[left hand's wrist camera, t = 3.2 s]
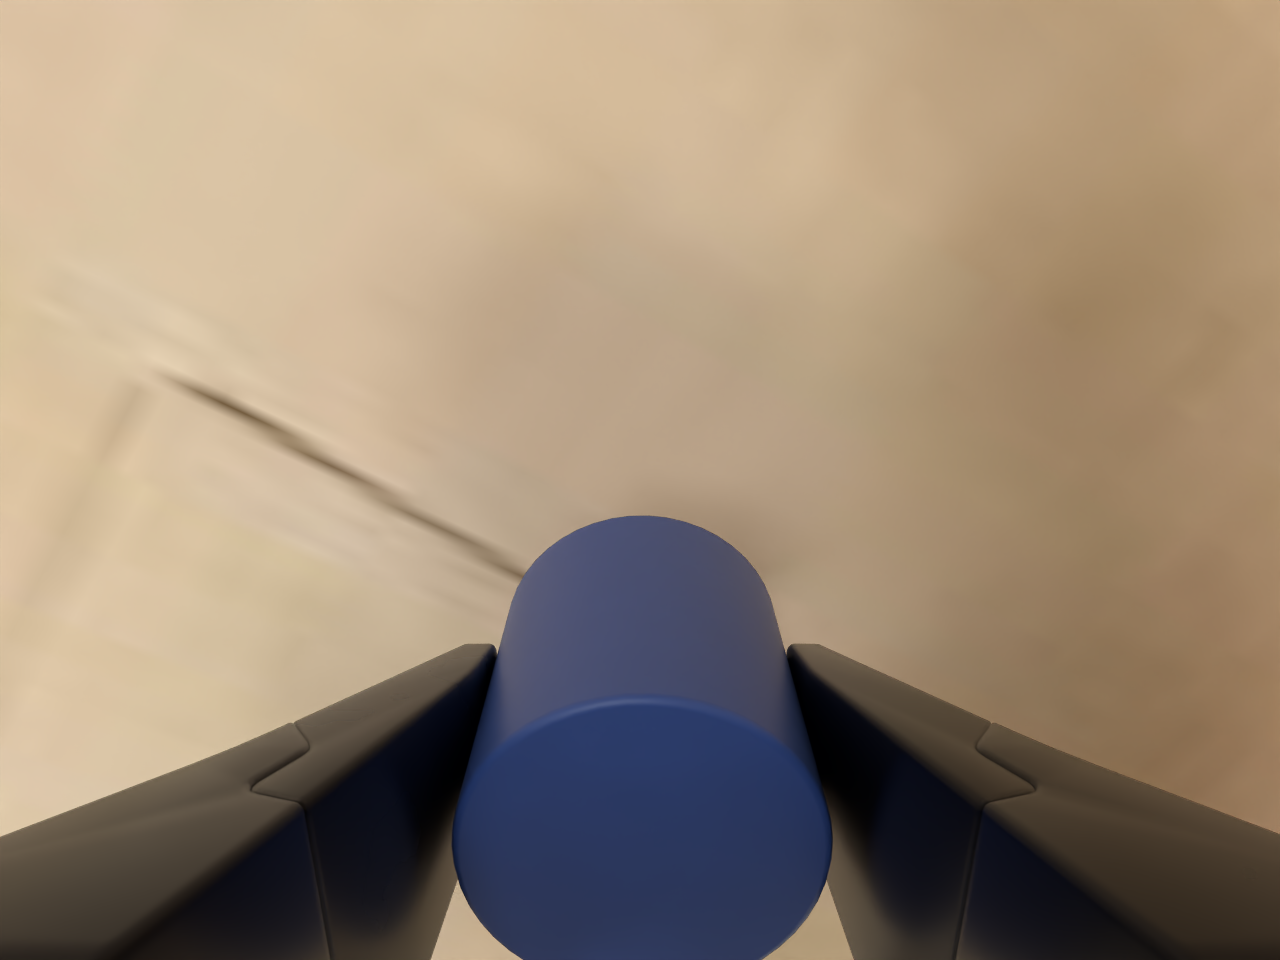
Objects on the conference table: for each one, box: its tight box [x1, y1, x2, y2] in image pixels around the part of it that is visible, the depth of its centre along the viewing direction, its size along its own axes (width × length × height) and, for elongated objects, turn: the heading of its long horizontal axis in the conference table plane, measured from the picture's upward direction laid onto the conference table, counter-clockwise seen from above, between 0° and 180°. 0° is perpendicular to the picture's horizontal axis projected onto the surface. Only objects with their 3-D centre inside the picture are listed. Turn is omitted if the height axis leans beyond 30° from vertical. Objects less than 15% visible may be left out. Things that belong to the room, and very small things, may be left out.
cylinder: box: [451, 516, 833, 960], centre depth 11 cm, size 4×4×4 cm
